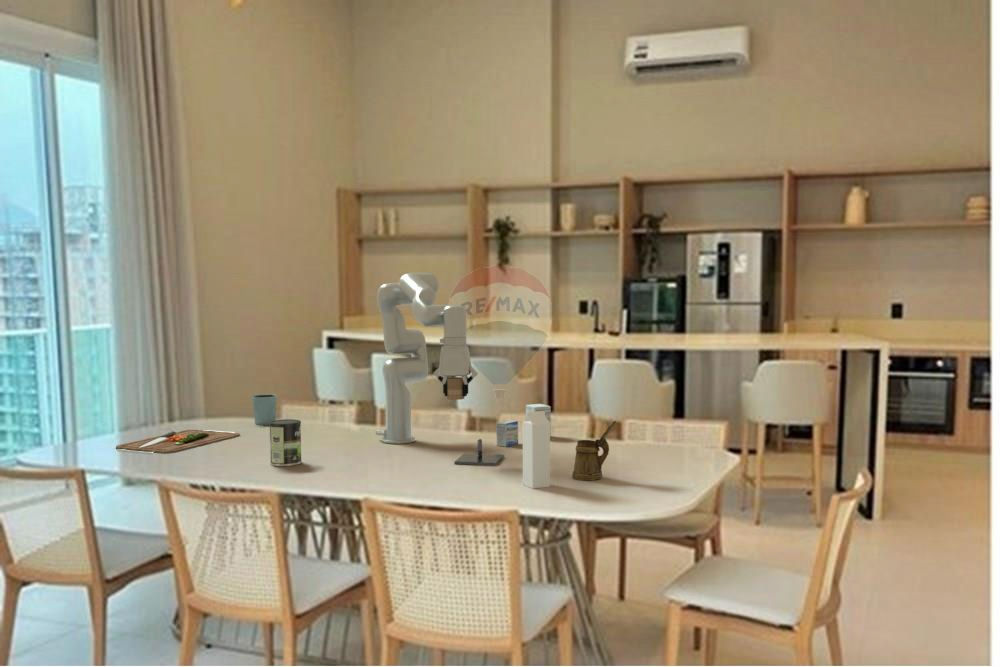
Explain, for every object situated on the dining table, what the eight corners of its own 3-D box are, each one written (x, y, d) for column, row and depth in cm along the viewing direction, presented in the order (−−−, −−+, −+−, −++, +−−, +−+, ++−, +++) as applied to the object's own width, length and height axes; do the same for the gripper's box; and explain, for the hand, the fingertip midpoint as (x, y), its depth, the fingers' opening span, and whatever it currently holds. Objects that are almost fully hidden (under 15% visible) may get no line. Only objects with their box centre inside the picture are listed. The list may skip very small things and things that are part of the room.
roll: (445, 399, 286) (445, 378, 285) (449, 397, 291) (449, 377, 291) (461, 399, 285) (461, 378, 284) (465, 397, 290) (465, 377, 290)
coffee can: (303, 459, 290) (303, 418, 290) (298, 466, 280) (298, 423, 279) (273, 460, 290) (272, 419, 289) (266, 466, 279) (266, 424, 279)
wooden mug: (613, 482, 255) (613, 423, 254) (569, 479, 260) (569, 420, 259) (618, 476, 264) (619, 418, 263) (576, 473, 268) (576, 416, 267)
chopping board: (163, 456, 299) (163, 448, 299) (106, 451, 309) (106, 442, 309) (247, 435, 341) (247, 428, 341) (194, 431, 351) (193, 424, 351)
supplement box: (525, 436, 333) (525, 404, 332) (541, 435, 336) (541, 403, 336) (534, 439, 326) (534, 407, 326) (551, 438, 330) (551, 405, 329)
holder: (454, 464, 282) (454, 442, 282) (464, 455, 296) (464, 434, 296) (496, 465, 280) (496, 443, 279) (504, 457, 293) (503, 436, 293)
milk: (522, 484, 253) (521, 411, 252) (540, 482, 256) (539, 409, 255) (532, 489, 248) (532, 413, 247) (550, 486, 251) (550, 412, 249)
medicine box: (505, 447, 312) (505, 423, 311) (496, 445, 315) (496, 422, 314) (518, 444, 318) (518, 420, 318) (509, 442, 321) (508, 419, 320)
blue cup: (281, 422, 370) (281, 394, 370) (266, 425, 361) (266, 397, 361) (263, 420, 375) (262, 393, 374) (247, 424, 365) (246, 396, 365)
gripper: (427, 342, 285) (428, 396, 286) (477, 343, 282) (478, 397, 282) (433, 341, 292) (434, 394, 293) (482, 341, 289) (483, 395, 290)
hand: (455, 395), depth 288 cm, fingers closed on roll, 5 cm apart
